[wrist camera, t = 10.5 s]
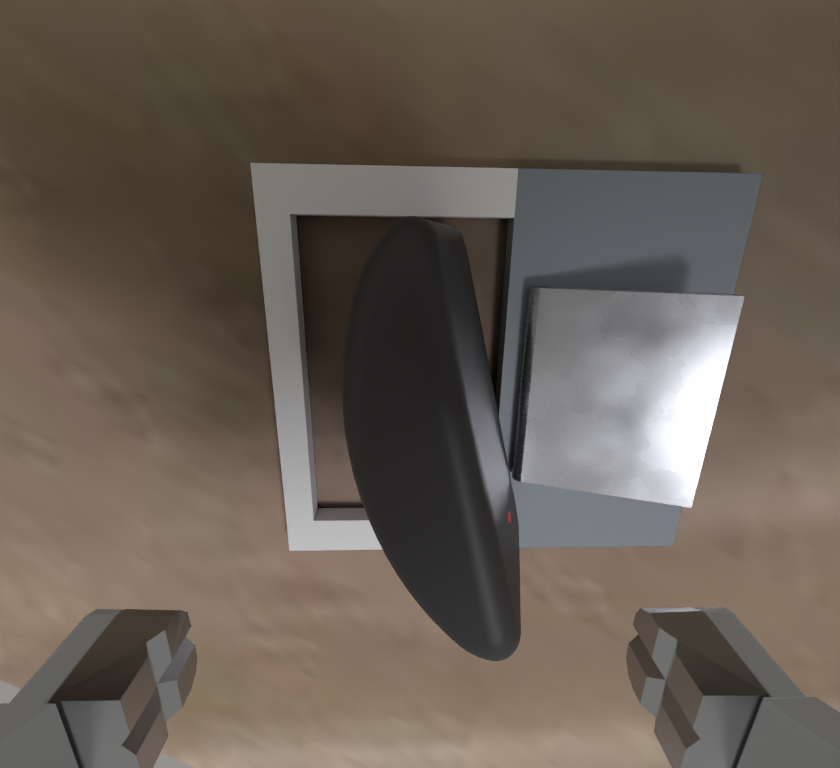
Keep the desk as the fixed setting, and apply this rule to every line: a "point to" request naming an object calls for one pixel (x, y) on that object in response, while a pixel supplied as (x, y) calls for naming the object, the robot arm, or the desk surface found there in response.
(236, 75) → the desk surface
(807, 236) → the desk surface
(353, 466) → the leaning round-cornered charcoal block
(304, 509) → the mounting board
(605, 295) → the light grey rectangular plate
